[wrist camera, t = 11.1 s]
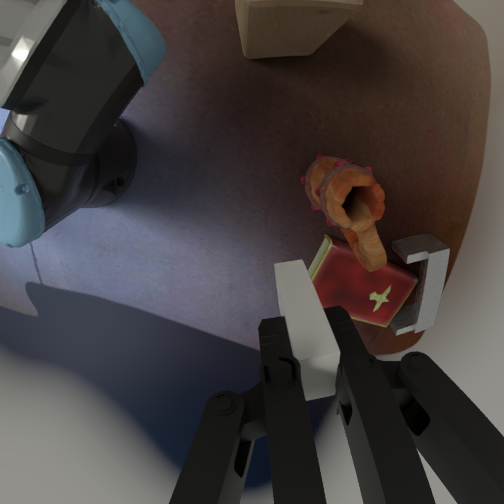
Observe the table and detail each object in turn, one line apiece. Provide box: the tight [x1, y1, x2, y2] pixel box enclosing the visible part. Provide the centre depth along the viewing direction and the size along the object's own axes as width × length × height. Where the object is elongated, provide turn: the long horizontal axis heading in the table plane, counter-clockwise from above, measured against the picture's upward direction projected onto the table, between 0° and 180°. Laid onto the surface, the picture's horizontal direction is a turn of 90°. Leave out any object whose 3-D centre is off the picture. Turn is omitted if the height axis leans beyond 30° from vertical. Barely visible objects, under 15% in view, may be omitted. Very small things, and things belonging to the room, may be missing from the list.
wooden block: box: [235, 0, 363, 59], centre depth 20 cm, size 10×10×20 cm
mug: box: [301, 153, 387, 272], centre depth 34 cm, size 15×8×15 cm, turn 25°
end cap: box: [389, 233, 450, 335], centre depth 45 cm, size 9×18×7 cm, turn 11°
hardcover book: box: [308, 234, 418, 327], centre depth 46 cm, size 12×21×4 cm, turn 68°
